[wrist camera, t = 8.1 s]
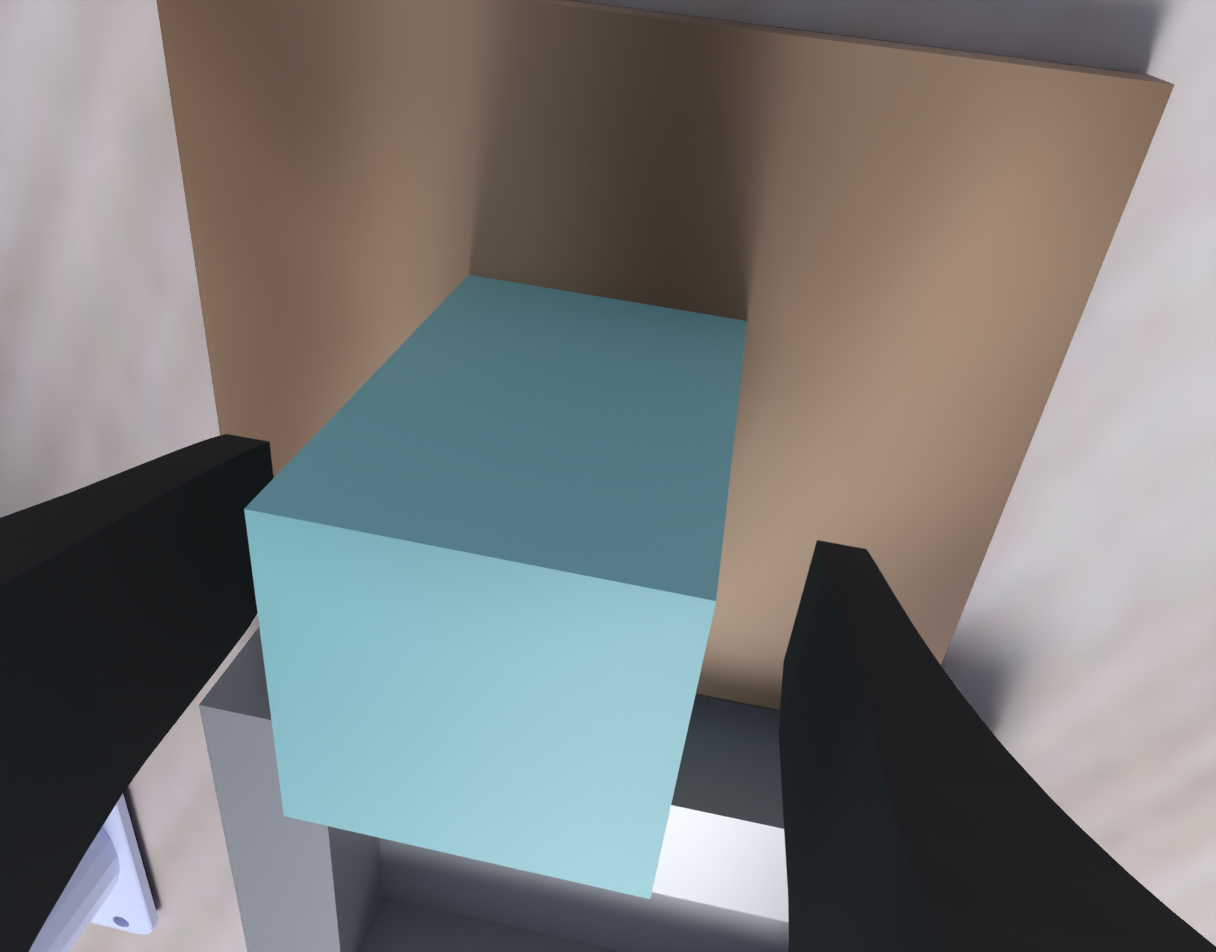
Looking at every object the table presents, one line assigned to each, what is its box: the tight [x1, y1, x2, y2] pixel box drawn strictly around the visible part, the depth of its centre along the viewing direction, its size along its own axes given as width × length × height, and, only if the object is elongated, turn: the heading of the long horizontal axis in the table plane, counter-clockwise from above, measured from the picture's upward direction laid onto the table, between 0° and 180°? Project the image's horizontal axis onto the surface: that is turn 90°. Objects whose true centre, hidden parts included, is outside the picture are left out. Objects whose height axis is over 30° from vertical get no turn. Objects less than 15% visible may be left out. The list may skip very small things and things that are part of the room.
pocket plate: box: [199, 628, 789, 952], centre depth 22 cm, size 16×12×3 cm
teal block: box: [244, 275, 747, 899], centre depth 12 cm, size 4×4×7 cm
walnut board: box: [157, 0, 1174, 710], centre depth 16 cm, size 14×12×1 cm
